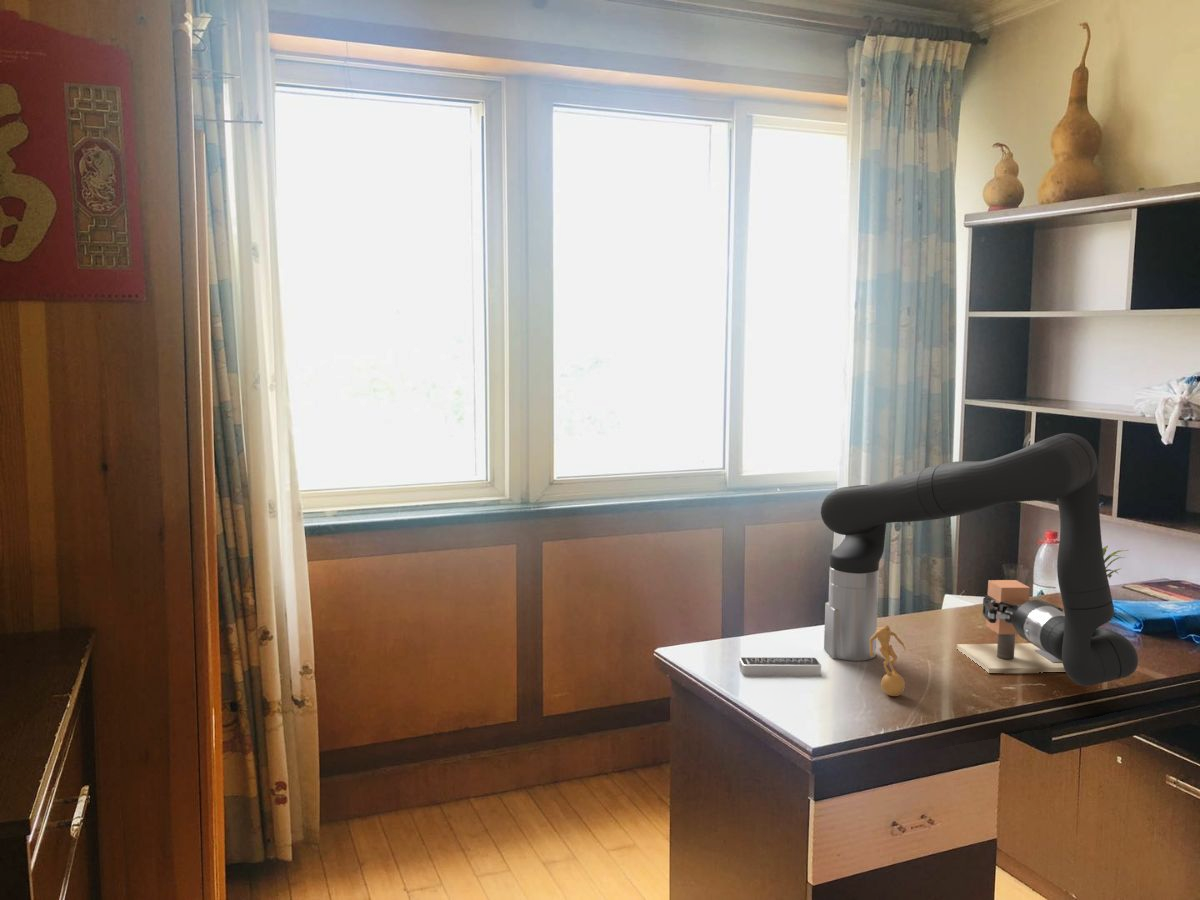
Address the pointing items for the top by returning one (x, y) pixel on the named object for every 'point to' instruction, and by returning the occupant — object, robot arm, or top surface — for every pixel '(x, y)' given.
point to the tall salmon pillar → (1006, 592)
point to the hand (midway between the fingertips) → (1001, 600)
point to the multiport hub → (779, 666)
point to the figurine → (891, 681)
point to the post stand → (1011, 657)
